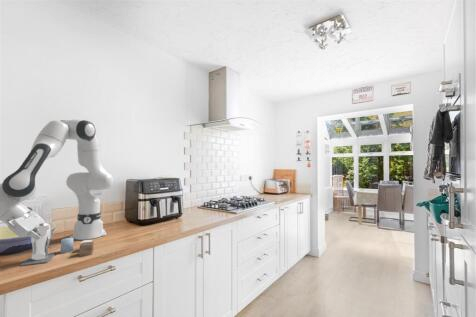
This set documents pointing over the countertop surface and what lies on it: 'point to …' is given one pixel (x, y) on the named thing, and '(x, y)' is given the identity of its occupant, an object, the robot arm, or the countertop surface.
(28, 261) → the charcoal mat
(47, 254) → the beer glass
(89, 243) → the walnut cube
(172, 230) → the countertop surface
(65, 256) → the countertop surface
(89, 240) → the pale grey block
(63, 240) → the slate-blue cylinder
